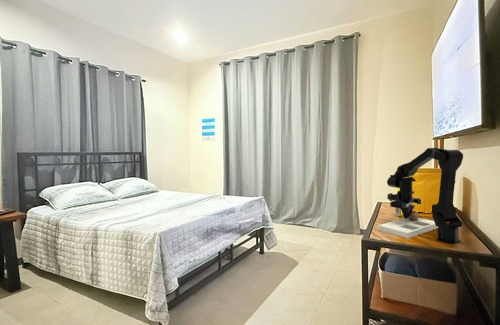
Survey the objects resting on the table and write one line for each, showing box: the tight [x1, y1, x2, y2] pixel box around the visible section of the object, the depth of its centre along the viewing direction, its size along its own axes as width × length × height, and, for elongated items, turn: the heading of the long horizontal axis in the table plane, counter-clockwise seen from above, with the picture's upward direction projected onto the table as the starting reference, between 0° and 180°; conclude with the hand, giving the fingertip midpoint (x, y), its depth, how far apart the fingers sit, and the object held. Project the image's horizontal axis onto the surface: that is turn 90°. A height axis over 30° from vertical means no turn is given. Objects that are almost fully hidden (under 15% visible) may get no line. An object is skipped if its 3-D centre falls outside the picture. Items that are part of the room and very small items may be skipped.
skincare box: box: [395, 200, 401, 217], centre depth 151 cm, size 6×4×12 cm
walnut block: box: [408, 210, 420, 221], centre depth 133 cm, size 4×4×4 cm
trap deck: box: [377, 217, 438, 239], centre depth 128 cm, size 14×28×2 cm, turn 119°
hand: (406, 218), depth 133 cm, fingers closed
